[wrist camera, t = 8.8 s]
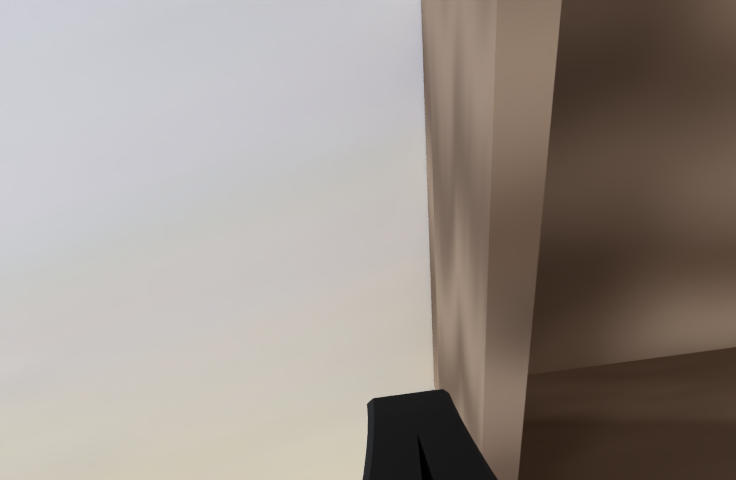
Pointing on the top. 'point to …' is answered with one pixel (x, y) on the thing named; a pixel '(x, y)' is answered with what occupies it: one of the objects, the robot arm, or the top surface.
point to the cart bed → (585, 233)
